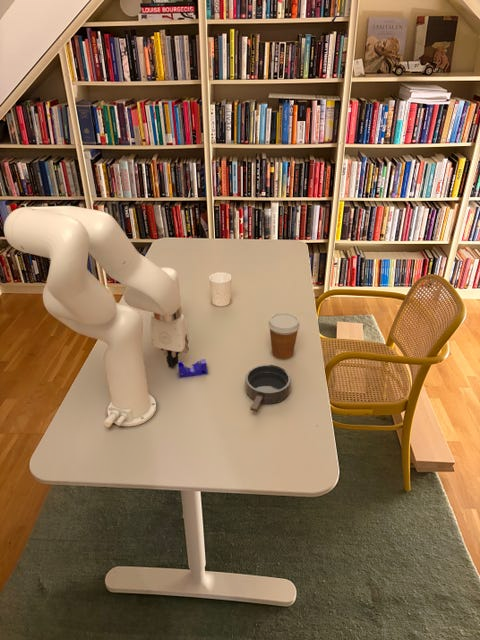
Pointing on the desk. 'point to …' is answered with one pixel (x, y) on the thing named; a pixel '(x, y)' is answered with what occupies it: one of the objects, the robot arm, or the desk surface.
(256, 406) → the pan handle
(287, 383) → the pan
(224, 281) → the white cup
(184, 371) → the cable holder
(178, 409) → the desk surface
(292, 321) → the disposable coffee cup
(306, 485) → the desk surface
